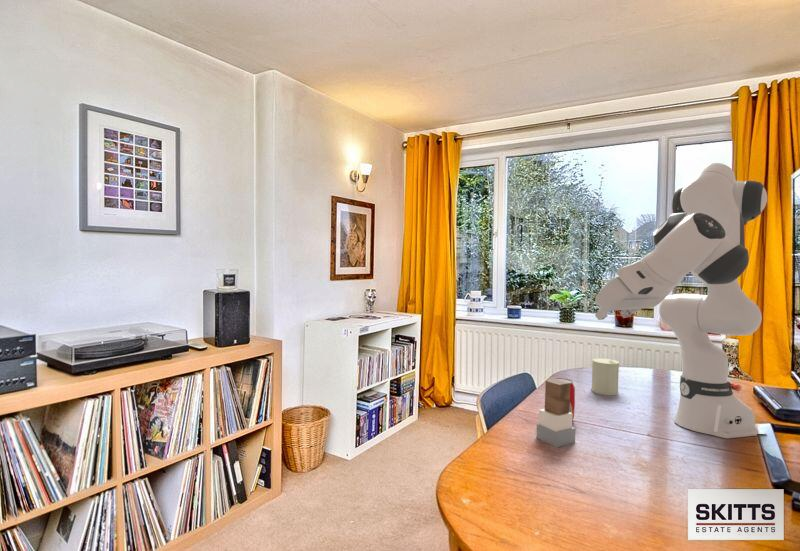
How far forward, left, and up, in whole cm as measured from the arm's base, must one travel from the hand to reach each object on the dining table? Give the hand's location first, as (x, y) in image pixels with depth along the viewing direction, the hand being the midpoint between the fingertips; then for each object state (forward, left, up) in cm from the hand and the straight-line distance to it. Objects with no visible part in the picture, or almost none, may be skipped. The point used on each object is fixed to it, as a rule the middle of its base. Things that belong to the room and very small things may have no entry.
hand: (611, 316), depth 107 cm
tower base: (+8, -12, -36) cm, 38 cm away
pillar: (+8, -12, -27) cm, 31 cm away
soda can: (0, -27, -36) cm, 45 cm away
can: (-28, -55, -36) cm, 72 cm away
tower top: (+8, -12, -32) cm, 35 cm away
